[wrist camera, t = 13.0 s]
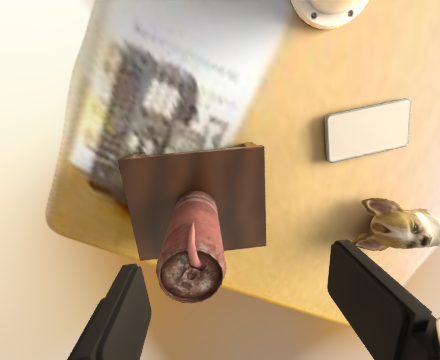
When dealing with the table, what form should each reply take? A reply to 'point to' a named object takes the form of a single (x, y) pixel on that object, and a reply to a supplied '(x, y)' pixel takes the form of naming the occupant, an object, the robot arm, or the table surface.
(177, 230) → the can
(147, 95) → the table surface
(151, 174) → the side table
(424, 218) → the ceramic sculpture
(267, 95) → the table surface
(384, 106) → the smartphone
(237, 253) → the table surface
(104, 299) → the robot arm
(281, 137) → the table surface
